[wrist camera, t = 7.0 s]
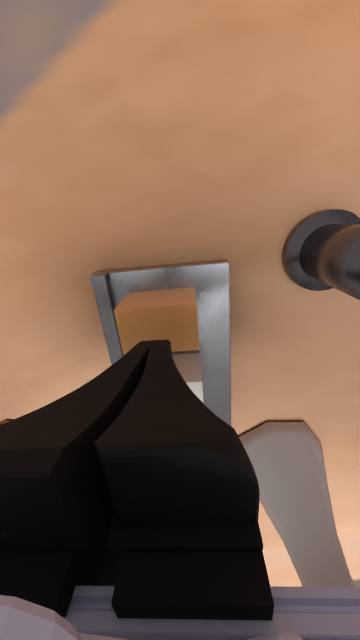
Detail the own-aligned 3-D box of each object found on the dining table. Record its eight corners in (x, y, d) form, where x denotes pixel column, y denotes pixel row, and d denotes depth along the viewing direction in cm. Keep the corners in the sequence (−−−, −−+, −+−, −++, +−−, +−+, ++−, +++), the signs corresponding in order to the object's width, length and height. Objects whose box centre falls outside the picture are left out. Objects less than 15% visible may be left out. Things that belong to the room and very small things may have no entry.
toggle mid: (199, 353, 16) (202, 381, 13) (201, 383, 17) (204, 416, 14) (140, 356, 16) (130, 385, 13) (145, 386, 17) (137, 419, 14)
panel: (226, 259, 14) (230, 264, 13) (229, 430, 20) (232, 447, 18) (97, 271, 15) (86, 276, 13) (134, 434, 20) (130, 451, 19)
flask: (223, 430, 20) (253, 614, 10) (312, 408, 18) (435, 595, 9) (245, 483, 22) (286, 669, 13) (325, 467, 21) (431, 659, 12)
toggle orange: (195, 287, 14) (196, 303, 11) (197, 325, 15) (199, 349, 12) (128, 292, 14) (113, 310, 11) (135, 330, 15) (123, 354, 12)
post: (368, 206, 13) (506, 195, 7) (352, 284, 14) (454, 324, 9) (285, 214, 13) (356, 210, 8) (279, 290, 15) (334, 332, 9)
